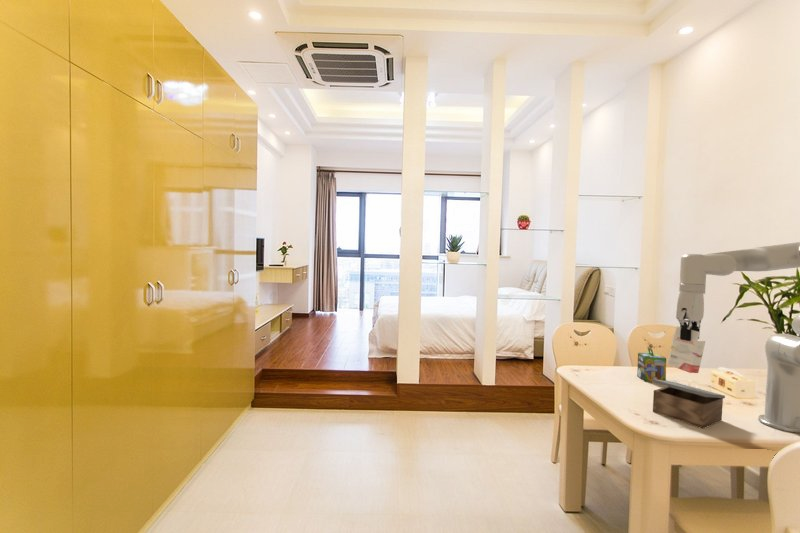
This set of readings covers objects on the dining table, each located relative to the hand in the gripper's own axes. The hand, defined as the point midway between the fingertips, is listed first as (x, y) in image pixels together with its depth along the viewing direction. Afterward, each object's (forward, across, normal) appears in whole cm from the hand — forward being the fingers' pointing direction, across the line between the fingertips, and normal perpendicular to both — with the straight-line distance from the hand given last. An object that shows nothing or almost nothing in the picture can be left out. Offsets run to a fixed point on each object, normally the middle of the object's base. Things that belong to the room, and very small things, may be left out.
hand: (689, 338), depth 145 cm
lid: (+19, 0, 0) cm, 19 cm away
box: (+28, 0, 0) cm, 28 cm away
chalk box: (+28, -34, -30) cm, 54 cm away
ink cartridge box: (+11, +1, -1) cm, 11 cm away
